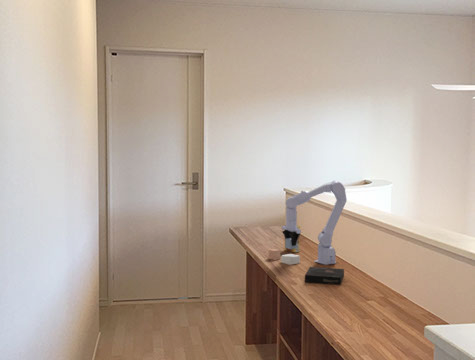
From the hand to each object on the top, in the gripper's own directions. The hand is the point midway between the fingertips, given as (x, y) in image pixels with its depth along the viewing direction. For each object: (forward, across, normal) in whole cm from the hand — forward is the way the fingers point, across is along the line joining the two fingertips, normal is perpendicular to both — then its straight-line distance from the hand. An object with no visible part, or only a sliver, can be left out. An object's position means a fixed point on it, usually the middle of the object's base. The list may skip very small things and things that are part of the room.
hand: (291, 244), depth 302 cm
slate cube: (+2, 0, 0) cm, 2 cm away
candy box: (+10, -23, +17) cm, 30 cm away
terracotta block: (+10, -11, -3) cm, 15 cm away
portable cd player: (+10, +37, -6) cm, 39 cm away
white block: (+10, +1, -1) cm, 10 cm away
